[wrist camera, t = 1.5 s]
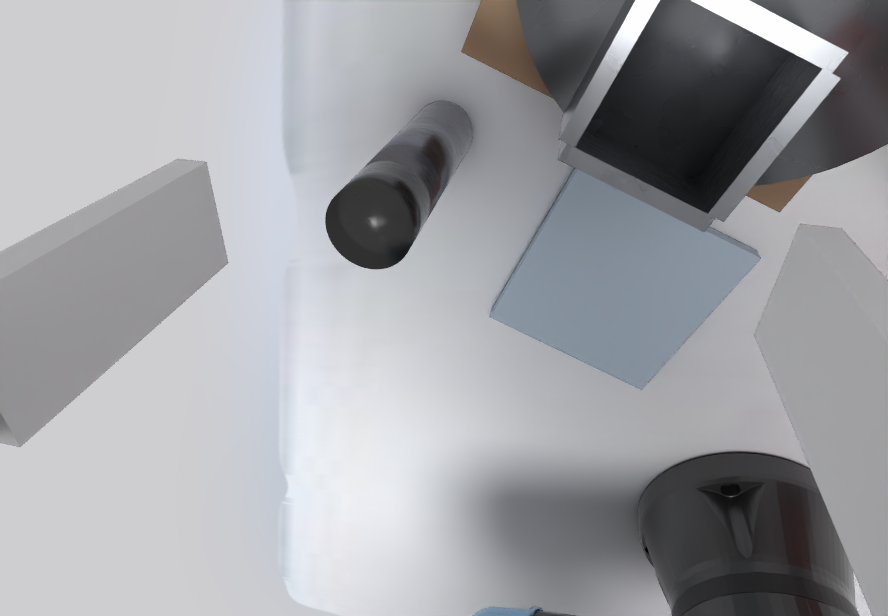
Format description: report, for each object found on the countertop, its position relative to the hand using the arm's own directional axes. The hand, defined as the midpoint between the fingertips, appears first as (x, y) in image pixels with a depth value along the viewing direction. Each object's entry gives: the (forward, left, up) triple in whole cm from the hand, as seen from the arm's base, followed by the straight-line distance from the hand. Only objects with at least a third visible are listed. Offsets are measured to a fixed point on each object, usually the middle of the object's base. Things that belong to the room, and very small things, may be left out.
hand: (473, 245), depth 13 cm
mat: (-10, -10, -22) cm, 26 cm away
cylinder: (-6, +4, -22) cm, 23 cm away
